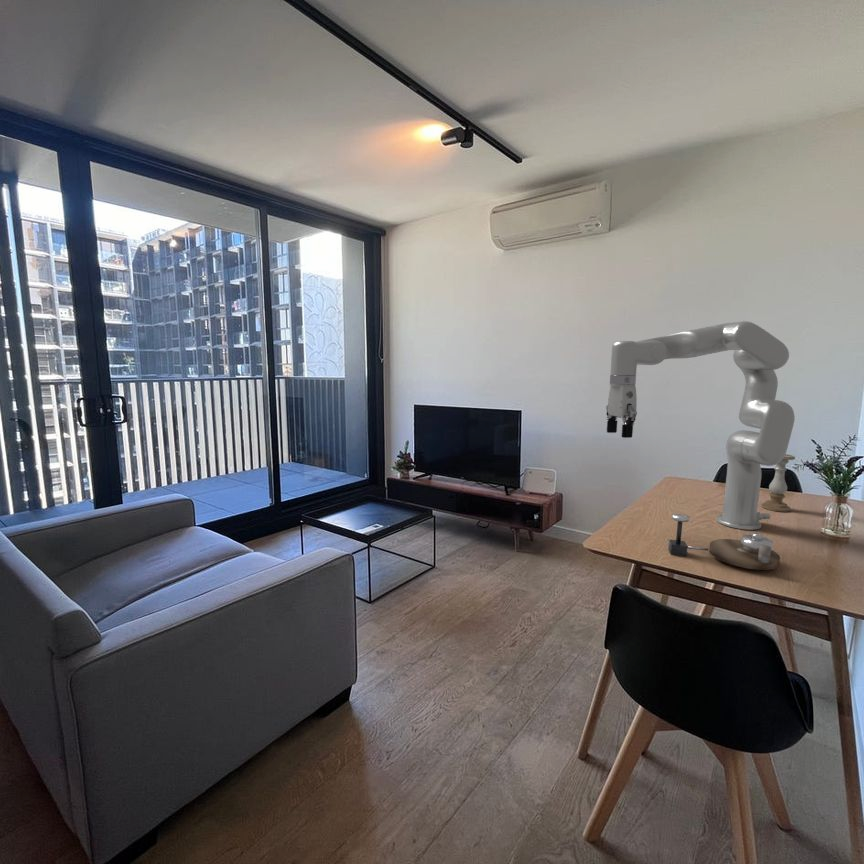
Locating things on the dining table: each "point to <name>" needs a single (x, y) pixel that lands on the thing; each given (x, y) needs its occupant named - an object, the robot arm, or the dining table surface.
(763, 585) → the dining table surface
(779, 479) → the candle holder
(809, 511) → the dining table surface
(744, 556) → the turntable
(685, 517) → the lever with ball knob
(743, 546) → the lid
